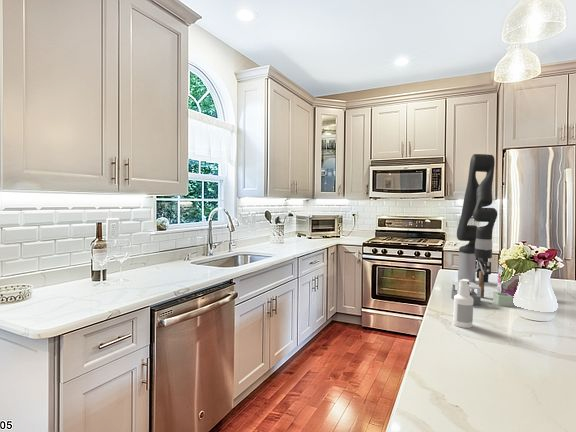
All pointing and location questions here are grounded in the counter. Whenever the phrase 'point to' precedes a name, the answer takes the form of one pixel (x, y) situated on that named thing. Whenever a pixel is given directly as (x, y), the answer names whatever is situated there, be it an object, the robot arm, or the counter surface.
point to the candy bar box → (507, 284)
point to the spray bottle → (463, 306)
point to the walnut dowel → (481, 283)
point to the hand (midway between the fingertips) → (482, 280)
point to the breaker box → (474, 295)
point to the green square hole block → (502, 299)
